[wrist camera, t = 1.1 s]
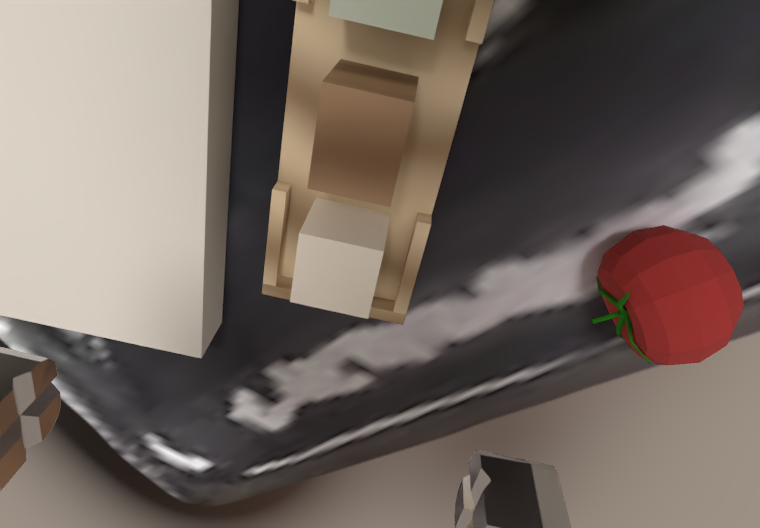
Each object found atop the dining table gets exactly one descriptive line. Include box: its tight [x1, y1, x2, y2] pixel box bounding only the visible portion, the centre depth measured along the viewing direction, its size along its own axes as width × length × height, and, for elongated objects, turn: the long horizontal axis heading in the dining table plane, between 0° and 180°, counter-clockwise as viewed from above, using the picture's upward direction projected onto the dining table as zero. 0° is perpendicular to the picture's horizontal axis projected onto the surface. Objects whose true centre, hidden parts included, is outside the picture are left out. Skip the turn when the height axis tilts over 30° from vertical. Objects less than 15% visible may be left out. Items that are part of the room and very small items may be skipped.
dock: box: [0, 0, 239, 358], centre depth 30 cm, size 30×16×4 cm, turn 169°
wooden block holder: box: [262, 0, 494, 325], centre depth 27 cm, size 24×9×8 cm, turn 169°
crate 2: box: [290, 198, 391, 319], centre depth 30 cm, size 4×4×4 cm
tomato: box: [591, 225, 744, 365], centre depth 30 cm, size 8×8×8 cm
